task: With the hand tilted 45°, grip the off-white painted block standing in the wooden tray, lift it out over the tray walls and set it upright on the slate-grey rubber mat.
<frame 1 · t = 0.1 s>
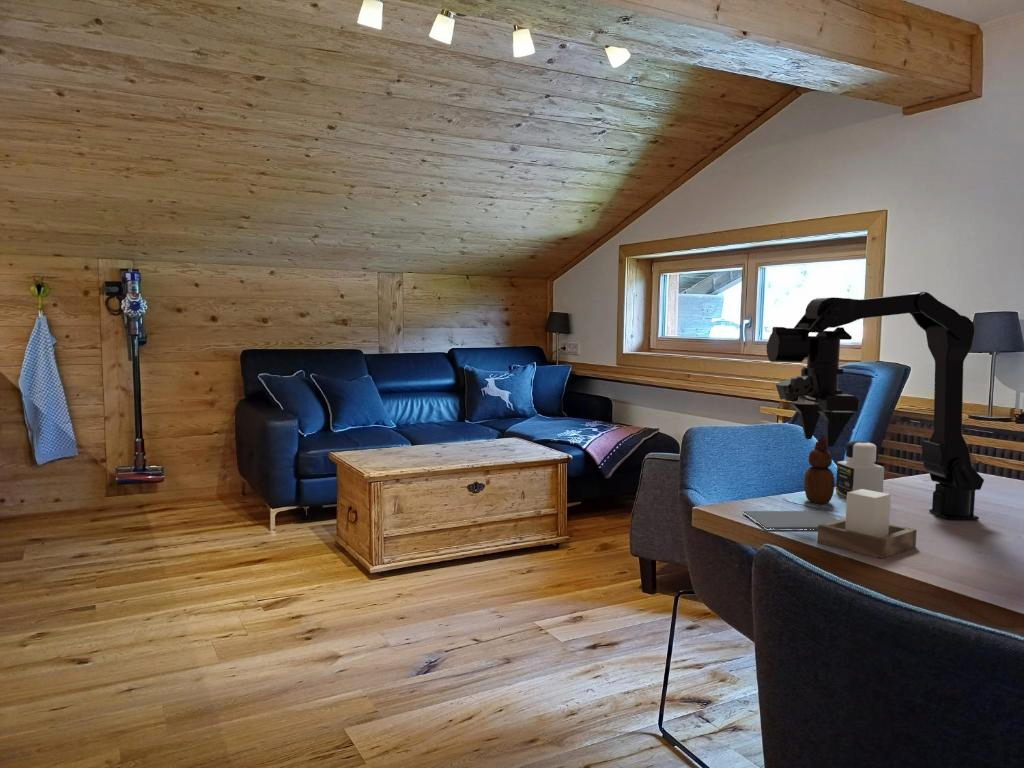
hand: (818, 442, 150), 15 cm above the table, tool pointing down, fingers open, 9 cm apart
slate mat: (795, 521, 147), on the table
wooden figurine: (818, 503, 164), on the table
medicine bottle: (858, 496, 171), on the table
white block: (867, 519, 132), in the wooden tray
wooden tray: (866, 544, 133), on the table
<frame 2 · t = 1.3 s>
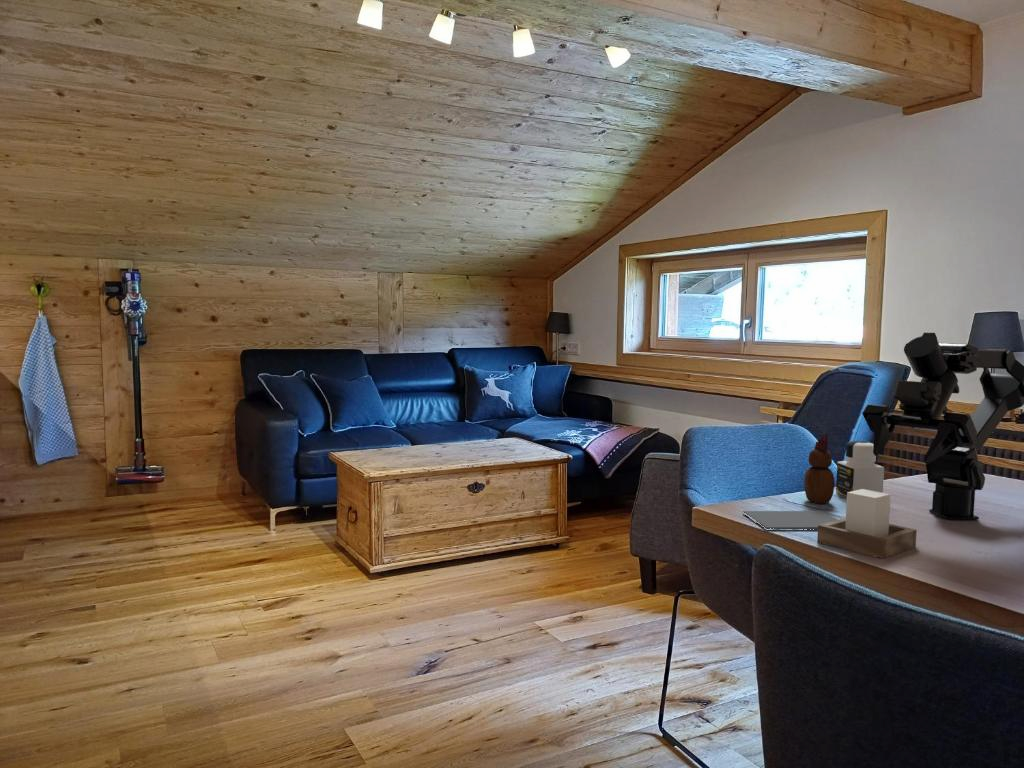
hand: (899, 458, 139), 14 cm above the table, tool tilted 45°, fingers open, 9 cm apart
nothing on the table moved.
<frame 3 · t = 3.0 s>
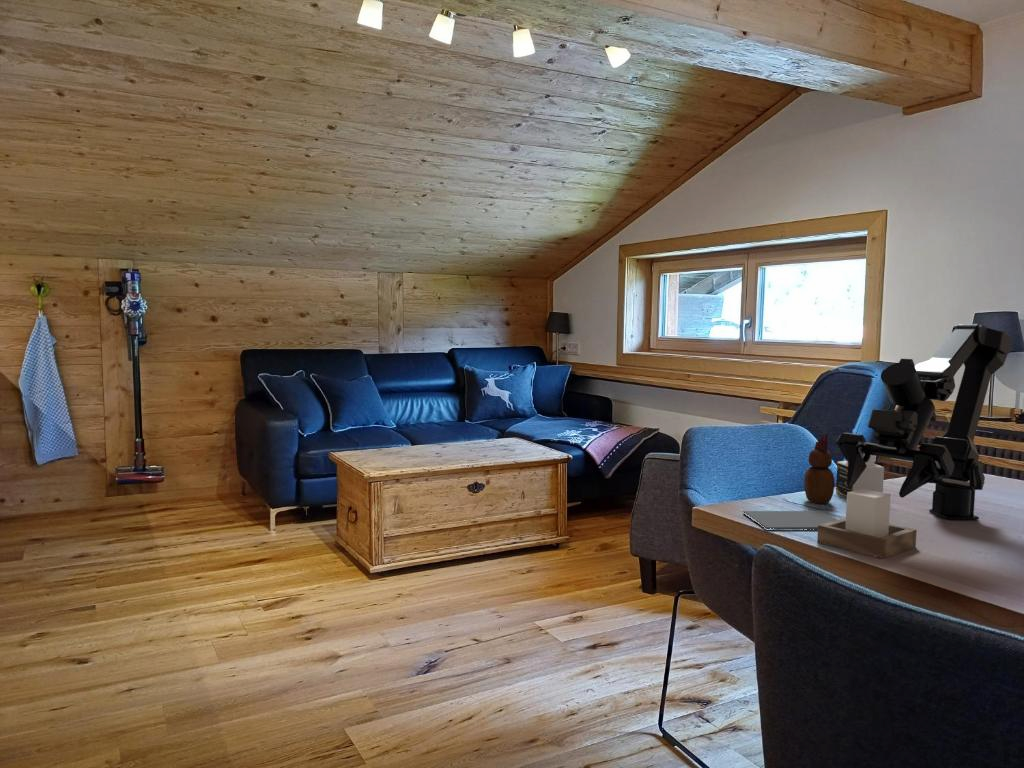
hand: (873, 490, 133), 9 cm above the table, tool tilted 45°, fingers open, 9 cm apart
nothing on the table moved.
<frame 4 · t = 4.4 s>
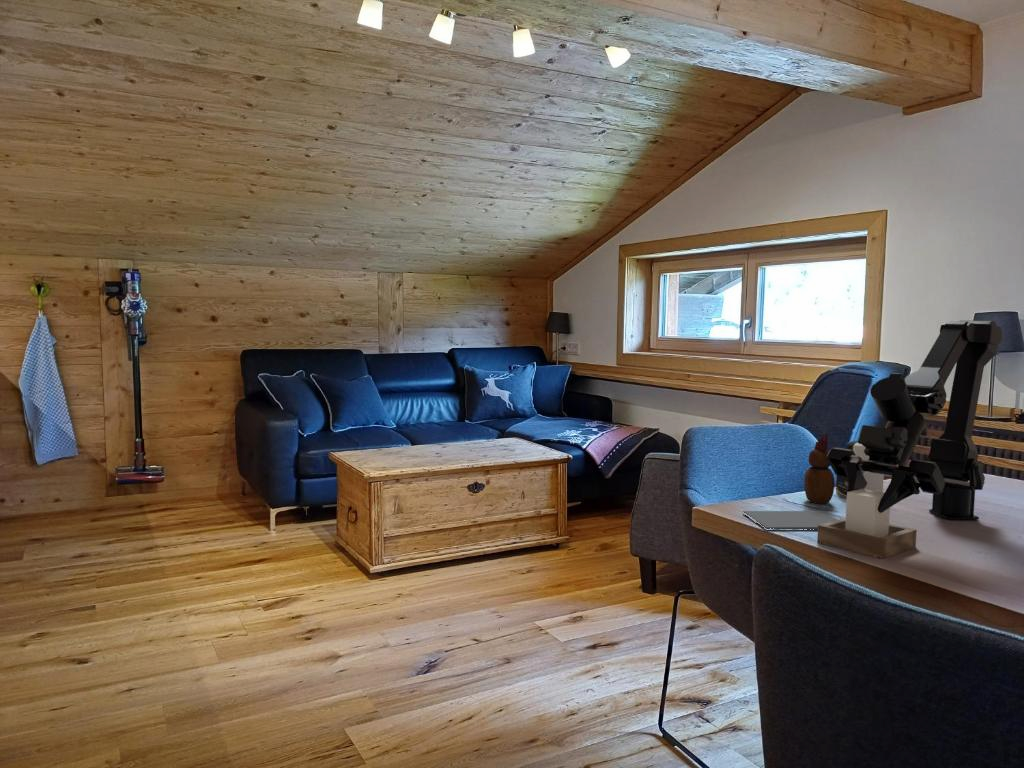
hand: (863, 507, 131), 7 cm above the table, tool tilted 45°, fingers closed on white block, 5 cm apart
white block: (867, 518, 132), in the wooden tray, touching gripper
everything else where it was.
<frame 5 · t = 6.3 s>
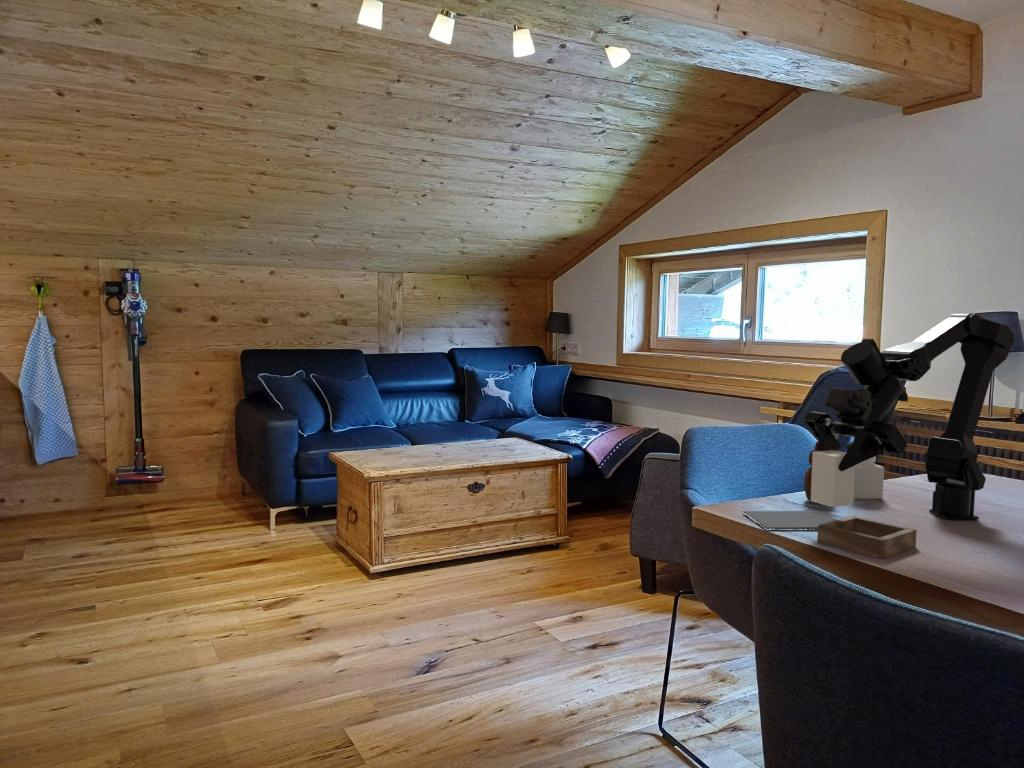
hand: (827, 466, 137), 12 cm above the table, tool tilted 45°, fingers closed on white block, 5 cm apart
white block: (832, 478, 138), point 10 cm above the table, touching gripper
everything else where it was.
when the fingers open (8 cm above the table, at t = 8.4 s): white block stays where it is, resting on slate mat.
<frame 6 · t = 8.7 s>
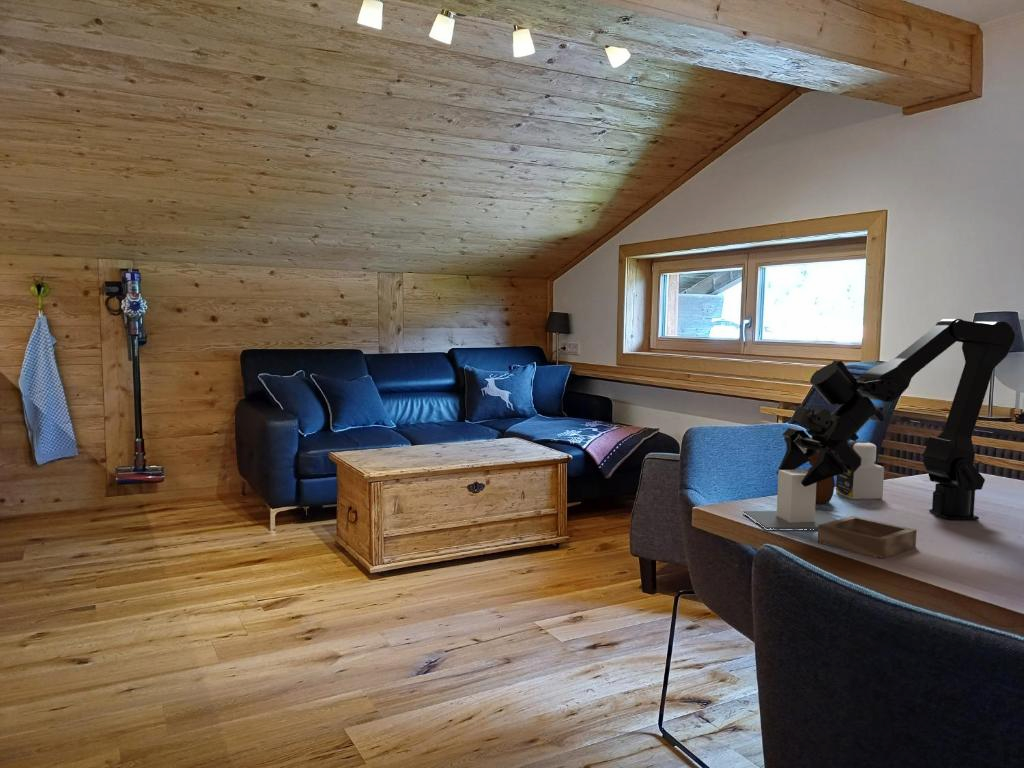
hand: (790, 479, 147), 8 cm above the table, tool tilted 45°, fingers open, 8 cm apart
white block: (796, 495, 147), on the slate mat, point 5 cm above the table
everything else where it was.
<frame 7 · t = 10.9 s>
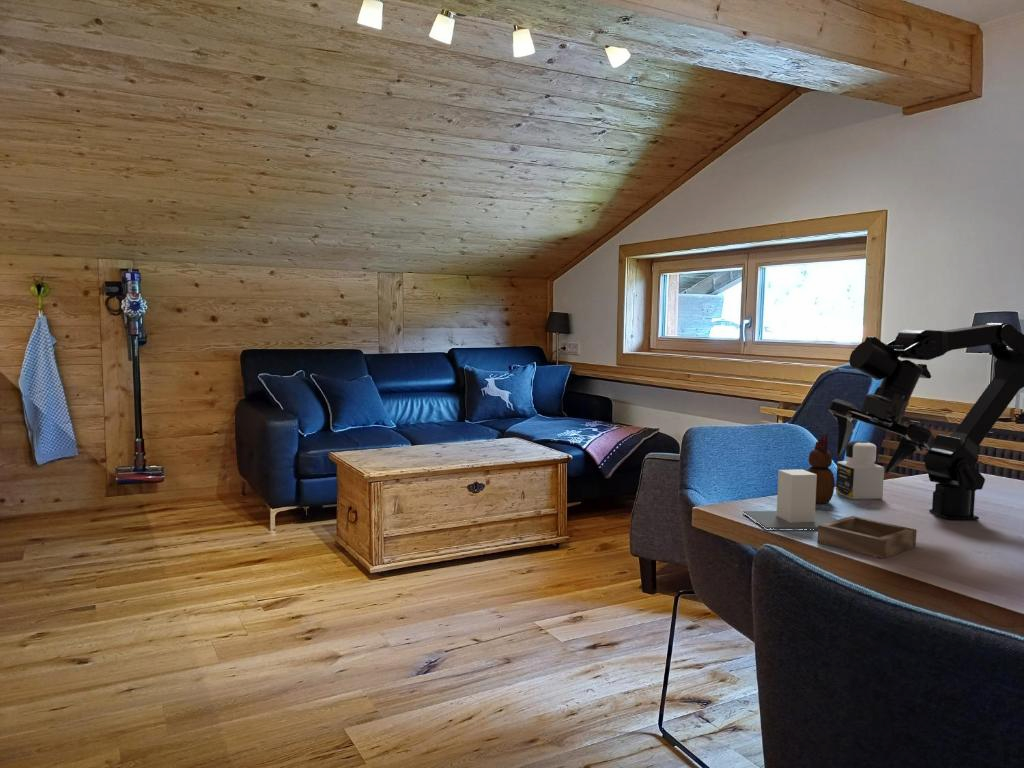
hand: (862, 463, 148), 11 cm above the table, tool tilted 25°, fingers open, 9 cm apart
nothing on the table moved.
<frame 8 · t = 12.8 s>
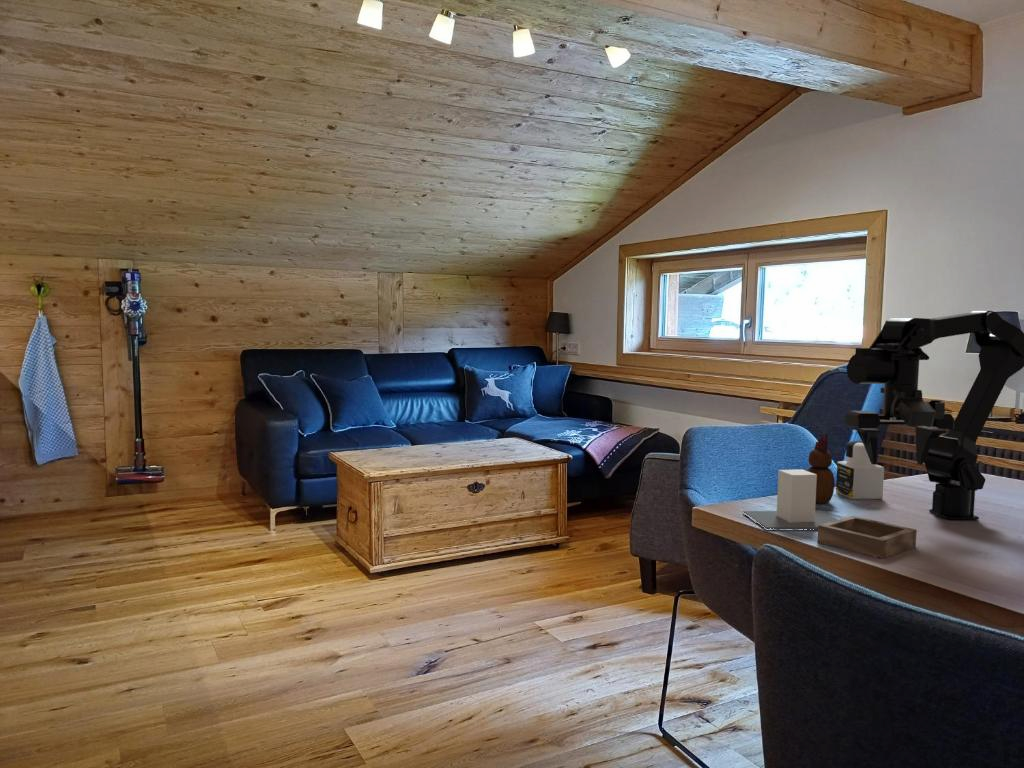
hand: (896, 464, 149), 11 cm above the table, tool pointing down, fingers open, 9 cm apart
nothing on the table moved.
at the end: white block inside the target area (0.0 cm from its centre), point 5.1 cm above the table; white block tilted 0°; the gripper is holding nothing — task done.
